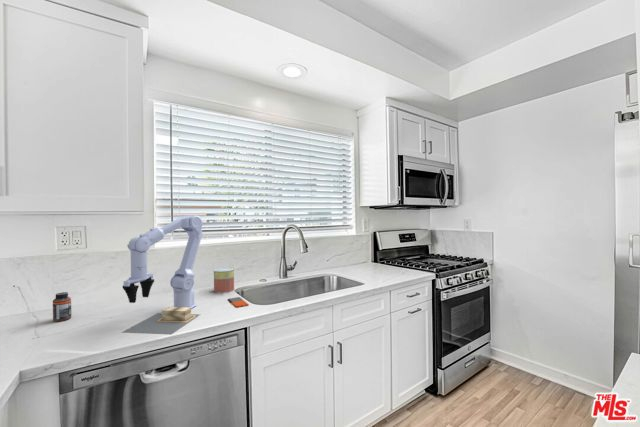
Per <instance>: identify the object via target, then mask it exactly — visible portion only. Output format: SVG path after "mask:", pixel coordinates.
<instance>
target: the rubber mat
mask: <svg viewBox="0 0 640 427" xmlns="http://www.w3.org/2000/svg"><path fill="white" fill-rule="evenodd" d="M199 316H201V313H200V314H197V313H191V317H190V318H189V319H187V320H185V321H177V320H162V312H157V313H155V314H153V315H152V316H150V317H148V318H146V319H144V320H142V321H140V322H139V323H136V324H134V325H133V326H131V327H129V328H127V329H125V330H123V331H121V333H122V334H123V333H127V334H153V335H173V334H174V333H176V332H178V331H179V330H180V329H182V328H183V327H186V325H187V324H189V323H191V322H192V321H194V320H196V318H198V317H199Z"/></svg>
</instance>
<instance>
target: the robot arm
mask: <svg viewBox="0 0 640 427" xmlns="http://www.w3.org/2000/svg"><path fill="white" fill-rule="evenodd" d="M203 224H204V221H203V220H202V218H201V217H200V216H199V215H197V214H195V215H184V214H183V215H182V216H179V217H177V218H176V219H174V220H172V221H171V222H169V223H167V224H166V225H164V226H162V227H160V228H158V227H152V228H149V231H146V232H145V233H141V234H139V236H138V237H137V236H136V237H133V238H131V239H130V240H129V242H128V244H127V245H126V246H127V248H128V250H129V251H130V276H129V277H128V279H126V280H124V281H123V285H122V289H123V290H124V292H125V294H126V296H127V299H128V302H129V304H135V303H136V301H137V292H138V290H139V287H140V288H141V294H142V298H149V296H150V293H151V289H152V286H153V284H154V282H155V279H154V274H153V273H148V250H150V247H151V246H153V245H155V244H157V243H159V242H161V241H162V240H164V238H165V235H167V234H169V233H172V232H173V231H176V230H178V229H179V228H181V229H182V230H184V231H185V232H186V233H187V235H188V239H187V243H186V246H185V250H184V253H183V256H182V259H181V262H180V266H179V268H178V269H177V270H176V271H174V274H173V275H172V277H171V279H170V283H169V284H170V287H171V288H172V289H173V307H189V308H191V310H192V309H193V308H194V307H197V304H195V303H196V301H195V300H196V299H195V298H196V297H195V290H194V289H193V288H194V285H195V280H194V279H195V274H194V272H193V268H194V264H195V261H196V257H197V255H198V250H199V246H200V244H201V240H202V237H203ZM138 283H139V284H140V285H136V284H138Z"/></svg>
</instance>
